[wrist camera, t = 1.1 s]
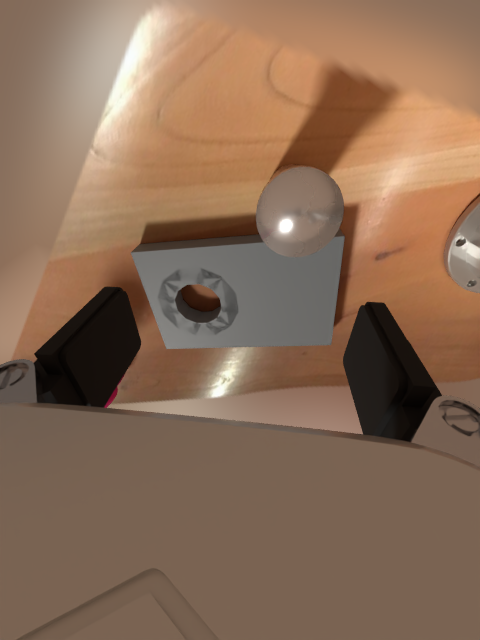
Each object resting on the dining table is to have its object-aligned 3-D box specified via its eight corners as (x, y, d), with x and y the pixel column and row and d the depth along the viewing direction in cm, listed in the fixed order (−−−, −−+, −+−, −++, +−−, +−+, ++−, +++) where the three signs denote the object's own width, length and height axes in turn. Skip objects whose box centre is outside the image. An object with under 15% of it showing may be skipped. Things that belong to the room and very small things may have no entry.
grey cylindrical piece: (324, 150, 23) (349, 162, 16) (319, 219, 27) (338, 254, 20) (257, 158, 24) (252, 173, 17) (261, 224, 28) (258, 259, 21)
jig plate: (339, 228, 27) (344, 236, 25) (327, 332, 35) (331, 344, 33) (139, 244, 30) (130, 252, 28) (171, 337, 38) (166, 348, 36)
